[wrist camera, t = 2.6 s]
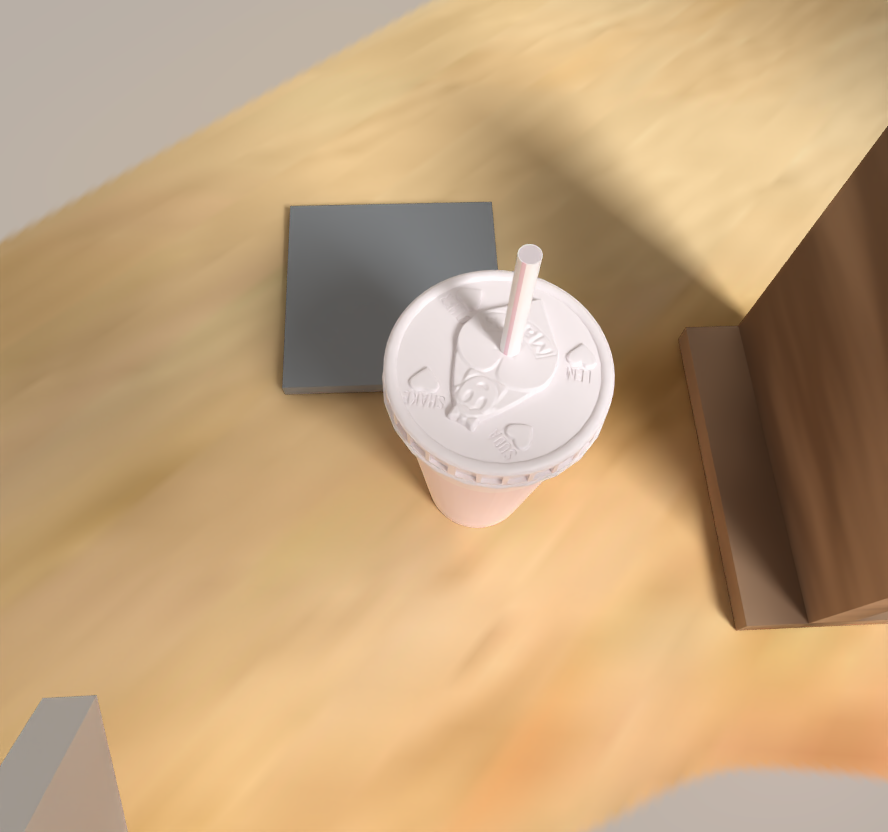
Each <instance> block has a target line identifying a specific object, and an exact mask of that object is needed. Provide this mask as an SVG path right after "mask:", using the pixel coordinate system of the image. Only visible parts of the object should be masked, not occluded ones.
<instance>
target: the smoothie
mask: <svg viewBox="0 0 888 832" xmlns="http://www.w3.org/2000/svg"><path fill="white" fill-rule="evenodd" d="M542 257H543V253H542V250H541V249H540V248H539V247H538V246H536V245H533V244H526V245H523V246H522V247H520V249H519V250H518V254H517V259H516V265H515V270H514V271H505V270H483V271H475V272H469V273H465V274H460V275H457V276H454V277H451V278H449V279H446V280H444V281H442V282H440V283H438V284H436V285H434V286H432V287H430V288H429V289H427V290H426V291H424V292H423V293H422V294H421V295H419V296H418V297H417V298H416V299H415V300H414V301H412V302H411V303H410V304H409V305H408V307H407V308H406V309H405V310H404V311H403V313H402V314H401V315H400V317H399V318H398V320H397V321H396V323H395V325H394V327H393V329H392V331H391V333H390V336H389V338H388V342H387V345H386V349H385V355H384V365H383V374H382V382H383V394H384V404H385V407H386V409H387V412H388V414H389V417H390V420H391V422H392V425H393V427H394V430H395V431H396V433H397V434H398V435H399V436H400V438H401V439H402V440H403V442H404V443H405V444H406V446H407V447H408V448H409V450H410V451H411V452H412V454H414V455H415V456H416V458H417V460H418V463H419V465H420V468H421V471H422V473H423V476H424V478H425V481H426V484H427V486H428V489H429V491H430V494H431V497H432V499H433V501H434V503H435V505H436V506H437V508H438V509H439V510H440V511H441V512H442V513H443V514H444V515H445V516H446V517H447V518H449V519H450V520H452V521H453V522H455V523H457V524H460V525H463V526H467V527H473V528H482V527H489V526H492V525H495V524H497V523H499V522H501V521H503V520H505V519H506V518H507V517H508V516H510V515H511V514H512V513H513V512H514V511H515V510H516V509H517V507H518V506H519V505H520V504H521V503H522V502H523V501H524V500H525V499H526V498H527V497H528V496H529V495H530V494H531V493H532V492H533V491H534V490H535V489H536V488H537V487H538V486H539V485H540V484H541V483H542V482H543V481H544V480H547V479H550V478H552V477H555V476H557V475H559V474H560V473H561V472H563V471H564V470H566V469H567V468H568V467H570V466H571V465H573V464H574V463H575V462H577V461H578V460H580V459H581V458H582V456H583V455H584V454H585V453H586V451H587V450H588V449H589V448H590V446H591V445H592V444H593V442H594V441H595V440H596V439H597V437H598V436H599V433H600V431H601V428H602V425H603V423H604V420H605V418H606V415H607V413H608V410H609V407H610V405H611V401H612V397H613V391H614V378H615V373H614V363H613V358H612V354H611V350H610V347H609V344H608V342H607V340H606V337H605V335H604V333H603V331H602V330H601V328H600V326H599V325H598V323H597V322H596V320H595V319H594V317H593V316H592V315H591V314H590V313H589V311H588V310H587V309H586V308H585V307H584V306H583V305H582V304H581V303H580V302H579V301H577V300H576V299H575V298H574V297H573V296H571V295H570V294H568V293H567V292H566V291H564V290H563V289H561V288H559V287H557V286H556V285H554V284H552V283H550V282H547V281H545V280H543V279H540V278H538V274H539V270H540V266H541V261H542Z"/></svg>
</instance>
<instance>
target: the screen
mask: <svg viewBox="0 0 888 832" xmlns="http://www.w3.org/2000/svg"><path fill="white" fill-rule="evenodd" d="M678 340H679V345H680V350H681V355H682V360H683V365H684V370H685V375H686V380H687V385H688V390H689V395H690V400H691V405H692V411H693V416H694V421H695V426H696V431H697V436H698V441H699V446H700V451H701V456H702V461H703V466H704V471H705V476H706V481H707V486H708V491H709V496H710V501H711V506H712V512H713V517H714V522H715V527H716V532H717V537H718V542H719V547H720V552H721V557H722V562H723V567H724V572H725V577H726V582H727V587H728V592H729V597H730V602H731V608H732V613H733V618H734V623H735V628H736V630H757V629H779V628H800V627H822V626H844V625H866V624H888V126H887V128H886V129H885V130H884V132H883V133H882V134H881V136H880V137H879V138H878V140H877V141H876V142H875V144H874V145H873V146H872V148H871V149H870V151H869V152H868V153H867V155H866V156H865V157H864V159H863V160H862V161H861V163H860V164H859V165H858V167H857V168H856V169H855V171H854V172H853V173H852V175H851V176H850V177H849V179H848V180H847V181H846V183H845V184H844V185H843V187H842V188H841V189H840V191H839V192H838V193H837V195H836V196H835V197H834V199H833V200H832V201H831V203H830V204H829V205H828V207H827V208H826V209H825V211H824V212H823V213H822V215H821V216H820V217H819V219H818V220H817V221H816V223H815V224H814V225H813V227H812V228H811V229H810V231H809V232H808V233H807V235H806V236H805V237H804V239H803V240H802V241H801V243H800V244H799V246H798V247H797V248H796V250H795V251H794V252H793V254H792V255H791V256H790V258H789V259H788V260H787V262H786V263H785V264H784V266H783V267H782V268H781V270H780V271H779V272H778V274H777V275H776V276H775V278H774V279H773V280H772V282H771V283H770V284H769V286H768V287H767V288H766V290H765V291H764V292H763V294H762V295H761V296H760V298H759V299H758V300H757V302H756V303H755V304H754V306H753V307H752V308H751V310H750V311H749V312H748V314H747V315H746V316H745V318H744V319H743V320H742V322H741V323H740V324H739V326H719V327H686V328H685V330H684V331H683V333H682V335H681V336H680V338H679V339H678Z"/></svg>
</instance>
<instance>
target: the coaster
mask: <svg viewBox="0 0 888 832" xmlns="http://www.w3.org/2000/svg"><path fill="white" fill-rule="evenodd" d="M483 270H498V266H497V256H496V245H495V234H494V223H493V212H492V202H464V203H417V204H369V205H322V206H290V226H289V248H288V271H287V294H286V317H285V340H284V363H283V386H282V388H283V391H284V393H285V394H313V393H345V392H376V391H383V382H382V374H383V365H384V355H385V349H386V345H387V342H388V338H389V336H390V333H391V331H392V329H393V327H394V325H395V323H396V321H397V320H398V318H399V317H400V315H401V314H402V313H403V311H404V310H405V309H406V308H407V307H408V305H409V304H410V303H411V302H412V301H414V300H415V299H416V298H417V297H418V296H419V295H421V294H422V293H423V292H424V291H426V290H427V289H429V288H430V287H432V286H434V285H436V284H438V283H440V282H442V281H444V280H446V279H449V278H451V277H454V276H457V275H460V274H465V273H469V272H475V271H483Z"/></svg>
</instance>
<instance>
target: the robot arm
mask: <svg viewBox="0 0 888 832" xmlns="http://www.w3.org/2000/svg"><path fill="white" fill-rule="evenodd" d="M0 832H128V830H127V825H126V821H125V817H124V812H123V808H122V803H121V799H120V795H119V790H118V786H117V782H116V777H115V773H114V769H113V764H112V760H111V756H110V751H109V747H108V743H107V738H106V734H105V729H104V725H103V721H102V716H101V712H100V708H99V703H98V699H97V695H92V696H74V697H55V698H42V700H41V701H40V703H39V705H38V706H37V708H36V709H35V711H34V713H33V714H32V716H31V717H30V719H29V721H28V722H27V724H26V725H25V727H24V729H23V730H22V732H21V733H20V735H19V737H18V738H17V740H16V741H15V743H14V745H13V746H12V748H11V749H10V751H9V753H8V754H7V756H6V757H5V759H4V761H3V762H2V764H1V766H0Z"/></svg>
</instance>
